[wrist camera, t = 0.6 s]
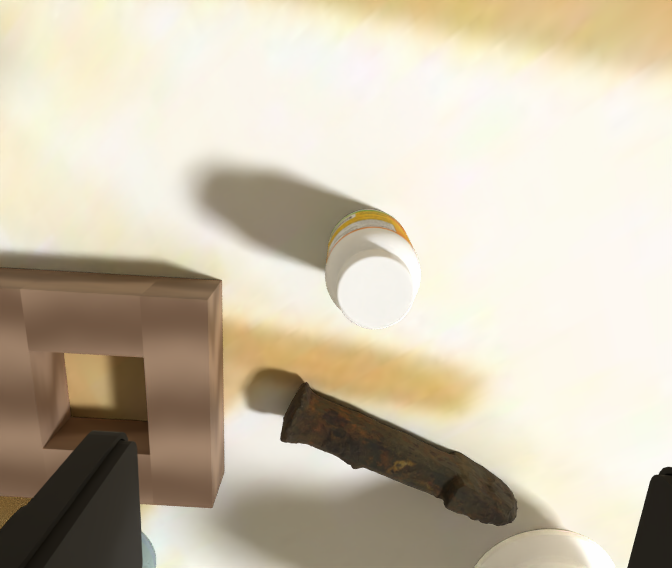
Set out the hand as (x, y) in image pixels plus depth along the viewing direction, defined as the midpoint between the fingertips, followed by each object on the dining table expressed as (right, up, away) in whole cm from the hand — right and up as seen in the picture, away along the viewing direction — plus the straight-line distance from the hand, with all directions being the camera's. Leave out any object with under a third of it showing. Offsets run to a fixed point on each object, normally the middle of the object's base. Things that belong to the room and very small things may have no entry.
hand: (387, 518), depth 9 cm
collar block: (-17, -3, +30) cm, 34 cm away
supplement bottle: (+1, +7, +26) cm, 27 cm away
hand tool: (+4, -7, +31) cm, 32 cm away
